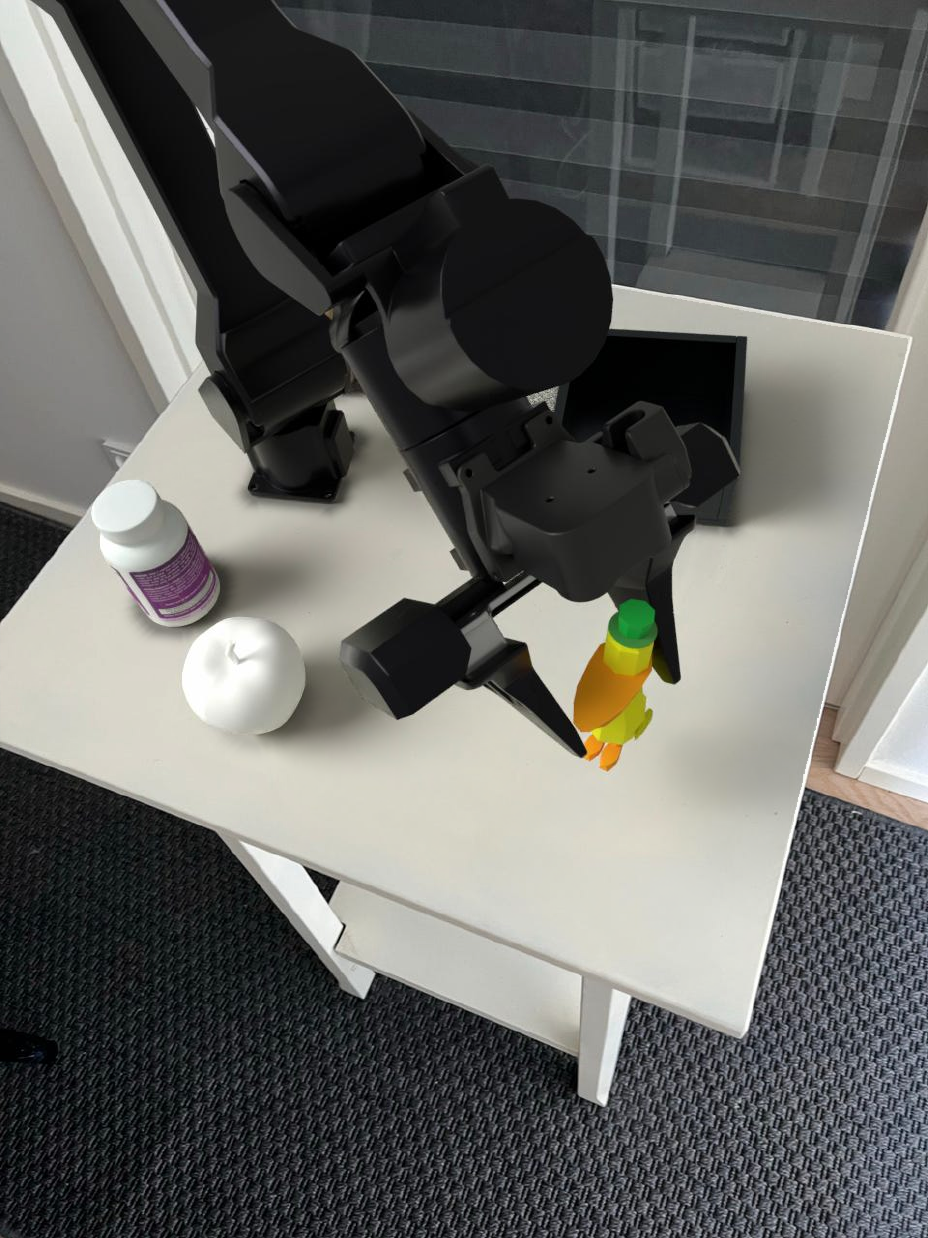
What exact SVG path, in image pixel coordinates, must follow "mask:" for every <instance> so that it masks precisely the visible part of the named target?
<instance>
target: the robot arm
mask: <svg viewBox="0 0 928 1238" xmlns="http://www.w3.org/2000/svg"><path fill="white" fill-rule="evenodd" d="M30 1H31V2H32V3H33V4H34V5H36V6H37V7H38V8H40V9H41V10H42V11H44V13H46V14H48V15H49V16H50V17H51V18H52V19H53V21H54V23H55V25H56V26H57V29H58V30H59V32H60V34H61V36H62V37H63V39H64V42H65V43H66V46H67V47H68V49H69V51H70V53H71V55H72V57H73V58H74V61H75V63H76V65H77V66H78V68H79V71H80V72H81V74H82V75H83V77H84V79H85V82H86V83H87V85H88V87H89V90H90V91H91V92H92V95H93V96H94V98H95V101H96V102H97V104H98V106H99V108H100V110H101V112H102V114H103V115H104V117H105V119H106V121H107V123H108V125H109V127H110V129H111V131H112V133H113V135H114V136H115V138H116V140H117V143H118V144H119V146H120V148H121V150H122V151H123V153H124V155H125V157H126V159H127V161H128V164H129V165H130V167H131V169H132V170H133V172H134V174H135V176H136V178H137V180H138V182H139V184H140V186H141V187H142V188H141V189H142V190H143V191H144V193H145V196H146V198H147V199H148V201H149V203H150V205H151V207H152V209H153V211H154V213H155V214H156V216H157V219H158V220H159V222H160V224H161V225H162V228H163V229H164V231H165V233H166V235H167V237H168V239H169V241H170V243H171V245H172V247H173V248H174V250H175V252H176V255H177V256H178V258H179V260H180V262H181V263H182V266H183V267H184V270H185V271H186V273H187V275H188V277H189V279H190V281H191V282H192V285H193V287H194V289H195V290H196V308H195V309H196V311H195V333H194V334H195V335H194V338H195V339H194V343H195V346H196V348H197V350H198V353H199V354H200V356H201V358H202V360H203V362H204V364H205V366H206V368H207V370H208V372H209V374H210V375H208V376H206V377H205V378H204V380H203V381H202V383H200V386H199V387H198V389H197V391H198V393H199V395H200V398H201V399H202V401H203V403H204V404H205V406H206V408H207V410H208V412H209V414H210V415H211V417H212V419H214V421H215V422H216V423H217V424H218V425H219V426H220V428H221V429H222V430H223V431H224V433H226V434H227V436H229V438H230V439H231V440H232V441H233V442H234V444H235V445H236V446H237V447H238V448H239V449H240V450H241V452H242V453H243V454H246V456H247V459H248V460H249V463H250V465H251V467H252V470H253V473H252V474H251V475H252V476H251V477H250V480H249V481H248V485H247V491H248V493H249V495H250V496H253V497H261V498H269V499H281V500H290V501H291V500H292V501H302V502H313V503H323V504H330V503H333V502H334V501H335V500H336V499H337V496H338V494H339V491H340V487H341V484H342V483H343V479H345V477H347V475H348V472H349V469H350V467H351V463H352V460H353V458H354V454H355V451H356V450H355V443H356V439H357V438H356V434H355V432H354V431H352V430H350V429H349V426H348V422H347V419H346V414H345V412H344V411H343V410H342V409H337V406H336V401H335V399H337V398H339V397H340V396H342V395H343V396H344V395H347V394H348V393H349V392H350V393H351V391H352V389H351V388H352V386H351V371H352V373H353V374H354V376H355V378H356V380H357V381H356V382H357V383H358V385H359V387H360V389H361V390H362V392H363V393H364V395H365V397H366V398H367V400H368V402H369V404H370V406H371V407H372V409H373V410H374V412H375V414H376V416H377V417H378V419H379V421H380V422H381V425H383V427H384V429H385V431H386V432H387V434H388V436H389V437H390V439H391V441H392V443H393V444H394V447H395V448H396V449H397V451H398V454H399V455H400V457H401V458H402V460H403V462H404V464H405V465H406V467H407V469H405V470H404V471H402V474H403V475H404V477H405V479H406V481H407V482H408V484H409V486H410V487H411V489H412V491H413V492H414V493H417V492H422V493H421V494H423V496H424V498H425V499H426V501H427V504H429V506H430V508H431V510H432V512H433V513H434V515H435V517H436V518H437V520H438V521H439V523H440V525H441V526H442V528H443V530H444V532H445V533H446V535H447V537H448V538H449V540H450V542H451V543H452V546H453V548H452V549H451V550H449V553H450V555H451V557H452V558H453V560H454V562H455V564H456V565H457V568H458V569H459V570H460V571H464V572H469V574H470V576H471V578H470V579H468V580H467V581H466V582H464V583H463V584H461V585H460V586H458V587H457V588H455V589H453V590H452V591H451V592H450V593H448V594H447V595H446V596H444V597H443V598H441V599H440V600H438V601H437V602H435V603H431V602H427V601H422V600H416V599H412V598H408V597H403V598H401V599H400V600H398V601H397V602H396V603H394V604H393V605H391V606H390V607H388V608H387V609H385V610H384V611H382V612H381V613H379V614H378V615H377V616H375V617H374V618H372V619H371V620H369V621H368V622H366V623H365V624H363V625H362V626H361V627H359V628H357V629H355V631H353V632H352V633H351V634H349V635H348V636H346V637H345V638H343V639H342V640H341V641H340V648H339V656H338V661H339V663H340V666H341V668H342V670H343V671H344V673H345V675H346V676H347V678H348V679H349V681H350V683H351V684H352V685H353V687H354V688H355V690H356V691H357V693H358V695H359V697H360V698H361V699H362V700H364V701H365V702H367V703H369V704H370V705H371V706H373V707H375V708H377V709H378V710H380V711H382V712H383V713H385V714H387V715H388V716H389V717H391V718H392V719H394V720H396V721H399V720H402V719H405V718H407V717H410V716H413V715H415V714H416V713H418V712H419V711H420V710H421V709H423V708H425V706H427V705H428V704H430V703H431V702H433V701H434V700H435V699H437V698H438V697H439V696H441V695H442V694H443V693H445V692H446V691H447V690H449V689H450V688H452V687H453V686H455V687H458V688H460V689H463V690H465V691H473V690H476V689H479V688H481V687H484V688H485V689H487V690H489V691H490V692H492V693H493V694H495V695H496V696H498V697H499V698H501V699H502V700H503V701H504V702H506V703H507V704H508V705H510V706H511V707H512V708H513V709H514V710H516V711H517V712H518V713H519V714H521V715H522V716H523V717H524V718H526V719H527V720H528V721H530V722H531V723H532V724H533V725H534V726H536V727H537V728H538V729H540V730H541V731H542V732H543V733H544V734H545V735H547V736H548V737H550V738H551V739H552V740H553V741H555V743H557V744H558V745H559V746H561V747H562V748H563V749H564V750H566V751H567V752H568V753H569V754H571V755H572V756H575V757H577V758H579V759H584V758H583V757H584V756H586V755H587V750H586V748H585V746H584V745H585V743H584V742H583V739H582V738H581V736H580V734H579V731H578V729H577V727H576V726H575V725H574V724H573V721H571V719H570V718H569V717H568V716H567V714H566V712H565V711H564V709H563V708H562V707H561V705H560V704H559V702H558V700H557V699H556V698H555V697H554V696H553V693H551V691H550V689H549V688H548V687H547V685H546V683H545V682H544V681H543V679H542V678H541V677H540V675H539V674H538V672H537V671H536V669H535V668H534V666H533V664H532V659H531V654H530V650H529V646H528V644H527V642H525V641H520V640H517V639H513V638H509V637H505V636H504V635H503V633H502V631H501V630H500V628H499V626H498V624H497V623H496V621H495V619H494V618H495V617H497V616H498V615H499V614H501V613H502V612H503V611H505V610H506V609H508V608H509V607H510V606H512V605H513V604H515V603H516V602H518V601H519V600H521V599H522V598H523V597H524V596H526V595H528V594H529V593H530V592H531V591H533V590H534V589H536V588H537V587H538V586H540V585H541V584H545V585H547V586H548V587H550V588H551V589H552V590H553V589H554V590H555V591H556V592H557V593H558V595H559V596H560V597H562V598H563V599H565V600H567V601H570V602H573V603H588V602H593V601H595V600H599V599H600V598H601V597H603V596H604V595H606V594H608V596H609V598H610V599H611V601H612V603H613V604H614V606H615V608H616V610H617V612H618V611H619V610H620V605H621V604H623V603H624V602H626V601H628V600H630V599H635V600H641V601H646V602H647V603H648V604H649V605H650V606H651V607H652V608H653V609H654V610H655V617H654V621H655V623H656V625H657V630H658V632H657V637H656V639H655V640H654V645H653V649H652V670H654V671H655V673H656V674H657V676H658V677H659V678H660V679H661V681H663V682H664V683H666V684H670V685H673V686H674V685H676V684H678V683H679V682H681V680H682V674H681V673H682V672H681V665H680V656H679V655H680V654H679V647H678V637H677V629H676V620H675V619H676V618H675V611H674V601H673V600H674V599H673V567H674V566H673V565H674V562H675V560H676V557H677V554H678V552H679V550H680V548H681V545H682V544H683V542H684V540H685V538H686V537H687V536H688V535H689V534H690V533H691V532H693V531H694V530H695V529H696V526H697V524H696V516H695V515H676V514H675V512H674V510H673V508H672V506H671V504H670V502H672V503H675V504H679V505H682V506H686V507H698V506H699V505H701V504H702V503H703V502H705V501H706V500H708V499H709V498H710V497H712V496H713V495H714V494H716V493H717V492H719V491H720V490H721V489H723V488H724V487H725V486H727V485H728V484H729V483H731V482H732V481H734V480H735V479H736V478H738V479H739V478H740V476H741V470H742V469H741V467H740V468H739V466H738V464H737V461H736V459H735V457H734V455H733V453H732V451H731V449H730V447H729V445H728V443H727V440H726V438H725V437H723V436H722V435H721V434H719V433H718V432H717V431H715V430H714V429H713V428H711V427H709V426H707V425H705V424H703V423H701V422H699V423H694V424H688V425H683V426H677V427H674V425H673V424H672V422H671V420H670V418H669V417H668V415H667V413H666V412H665V410H664V408H663V407H662V406H658V405H655V404H651V403H647V402H644V401H638V402H637V403H635V404H634V405H632V406H631V407H629V408H628V409H626V410H625V411H623V412H622V413H620V414H619V415H617V416H616V417H614V418H613V419H611V420H610V421H608V422H607V423H606V424H605V425H604V427H603V432H598V433H597V434H595V435H594V436H592V437H591V438H589V439H588V440H586V441H585V442H583V443H578V442H577V441H576V440H575V439H574V438H573V437H572V436H571V435H570V434H569V433H568V432H567V431H566V430H565V429H564V428H563V426H562V424H561V422H560V421H559V419H558V417H557V415H556V414H555V413H554V410H552V409H551V408H550V406H549V405H548V403H547V401H546V400H542V401H539V402H536V403H531V402H530V400H529V398H528V397H529V396H532V395H535V394H536V395H537V394H539V393H543V392H546V391H548V390H552V389H554V388H557V387H559V386H561V385H564V384H567V383H569V382H570V381H572V380H574V379H575V378H577V377H578V376H580V375H581V374H582V373H583V372H584V371H585V370H586V369H587V368H588V367H589V366H590V365H591V363H592V362H593V361H594V360H595V359H596V357H597V355H598V354H599V352H600V350H601V348H602V347H603V345H604V343H605V341H606V338H607V334H608V331H609V329H611V328H610V327H611V324H612V320H613V307H614V294H613V286H612V276H611V273H610V271H609V267H608V264H607V261H606V258H605V256H604V254H603V252H602V249H601V248H600V246H599V244H598V242H597V241H596V239H595V237H594V236H592V235H589V234H587V233H586V232H585V231H584V230H583V229H582V228H581V227H580V225H578V223H577V222H576V221H575V220H574V219H573V218H571V217H570V216H568V215H567V214H565V213H564V212H563V211H562V210H560V209H558V208H557V207H554V206H552V205H549V204H547V203H544V202H542V201H539V200H535V199H526V198H517V197H515V198H510V196H509V195H508V192H507V190H506V188H505V186H504V185H503V183H502V181H501V179H500V177H499V174H498V172H497V170H496V168H495V167H494V166H492V165H491V163H488V162H487V163H485V164H483V165H480V164H478V163H477V162H475V161H473V160H471V159H470V158H468V157H467V156H465V155H463V154H462V153H460V152H459V151H457V150H455V149H454V148H453V147H452V146H450V145H449V144H448V143H447V142H446V141H445V139H444V138H443V137H441V136H439V134H437V133H436V132H435V131H434V130H433V129H432V128H430V126H428V125H427V124H426V123H425V122H424V121H423V120H422V119H421V118H420V117H419V116H417V115H416V114H415V113H414V112H413V111H412V110H410V109H409V108H407V107H405V106H404V105H403V103H401V101H400V100H399V99H398V98H397V96H396V95H394V93H393V92H391V90H390V89H389V88H388V87H387V86H386V85H385V84H384V82H383V81H382V80H381V79H380V78H379V77H378V76H377V75H376V74H375V72H373V70H372V69H371V68H370V67H369V66H368V65H367V64H366V63H365V61H364V60H362V58H361V57H360V56H359V55H358V54H357V53H356V52H355V51H353V49H352V50H351V49H350V48H347V47H345V46H342V45H340V44H337V43H334V42H333V41H330V40H328V39H324V38H322V37H320V36H318V35H316V34H315V35H314V34H312V33H310V32H307V31H304V30H302V29H300V28H298V27H297V26H296V24H294V22H293V21H292V20H291V19H290V18H289V17H288V16H287V15H286V14H285V12H284V11H283V10H282V9H281V8H280V7H279V5H278V4H277V2H276V1H275V0H30ZM201 116H202V117H201ZM202 118H203V119H204V121H205V123H206V124H207V125H208V127H209V129H210V130H211V132H212V133H213V140H214V141H213V140H212V138H211V136H210V133H209V131H208V129H207V127H206V125H205V123H204V121H203V119H202ZM331 309H333V317H332V320H331V319H330V318H329V317H328V316H327V315H326V314H325V313H326V312H328V311H329V310H331Z"/></svg>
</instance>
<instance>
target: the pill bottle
mask: <svg viewBox="0 0 928 1238" xmlns="http://www.w3.org/2000/svg"><path fill="white" fill-rule="evenodd" d="M91 519H92V522H93V523H94V525H95V526H96V528H97V530H98V532H99V534H100V535H99V547H100V550H101V553H102V556H103V558H104V559H105V561H106V562H107V564H108V565H109V566H110V568H111V569H112V570H113V571H114V573H115V574H116V576H117V578H119V580H120V581H121V583H122V584H123V586H124V587H125V589H126V590H127V591H128V592H129V594H130V595H131V596H132V598H133V599H134V600H135V601H136V603H137V604H138V605H139V607H140V608H141V609H142V611H143V613H145V614H146V616H147V617H148V618H149V619H150V620H152V622H154V623H156V624H158V625H161V626H163V627H168V628H173V627H175V628H176V627H184V626H187V625H190V624H193V623H195V622H197V621H199V620H201V618H203V617H205V616H206V615H207V614H208V613H209V611H211V610H212V608H213V607H214V606H215V604H216V603H217V600H218V599H219V595H220V592H221V582H220V579H219V575H218V574H217V572H216V570H215V568H214V566H213V564H212V563H211V561H210V559H209V557H208V555H207V554H206V552H205V549H204V547H203V545H201V543H200V541H199V540H198V537H197V536H196V534H195V533H194V530H193V529H192V527H191V525H190V524H189V522H188V520H187V518H186V516H185V515H184V514H183V512H182V511H181V510H180V509H179V508H178V507H177V506H176V505H175V504H173V503H172V502H170V501H168V500H165V499H162V498H161V496H160V494H159V493H158V491H157V490H156V488H155V487H154V486H153V485H152V484H150V483H149V482H147V481H145V480H142V479H136V478H135V479H125V480H121V481H118V482H115V483H113V484H111V485H109V486H108V487H107V488H105V489H104V490H102V492H100V494H98V496H97V497H96V498H95V500H94V502H93V504H92V507H91Z"/></svg>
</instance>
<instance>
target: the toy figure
mask: <svg viewBox="0 0 928 1238" xmlns="http://www.w3.org/2000/svg"><path fill="white" fill-rule="evenodd" d="M654 617H655V610H654V609H653V608H652V607H651V606H650V605H649V604H648V603H647V602H646V601H641V600H635V599H630V600H628V601H626V602H624V603H623V604H621V605H620V610H619V611H618V610H617V611H616V612H615V613H614V614H613V615H612V616H610V618H609V620H608V624H607V629H606V637H605V641H604V642H602V643H600V644H598V647H597V648H596V650H595V651H594V652H593V655H592V656H591V657H590V658H589V660H588V662H587V664H586V667H585V669H584V671H583V673H582V675H581V677H580V679H579V681H578V683H577V685H576V690H575V694H574V699H573V714H572V715H573V717H572V718H573V719H572V724H573V725H574V727H575V728H576V729H577V731H578V732H580V733H591V734H590V735H589V737H587V738H586V740H585V741H584V746H585V748H586V750H587V755H586V756H584V757H583V758H582V759H585V760H586V761H588V762H591V761H593V760H594V759H596V758H597V757H599V755H600V759H599V768H600V769H602V770H603V771H605V772H609V771H610V770H611V769H613V768H614V767H615V766H616V765H617V763H618V762H619V760H620V757H621V754H622V750H623V746H624V745H625V744H626V743H628V742H630V741H631V740H632V739H633V740H634V742H635V741H637V740H638V739H639V738H640V737H641V736H642V735H643V734H644V732H645V731H646V730H647V728H648V727H649V725H650V724H651V722H652V719H653V715H654V710H653V709H652V708H647V696H646V694H644V692H643V686H644V684H645V682H646V681H647V679H649V676H650V675H651V673H652V672H653V667H652V649H653V645H654V640H655V639H656V637H657V632H658V630H657V625H656V623H655V621H654ZM646 708H647V709H646ZM605 744H606V745H605Z"/></svg>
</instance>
